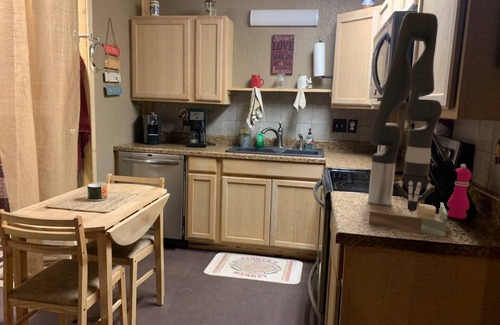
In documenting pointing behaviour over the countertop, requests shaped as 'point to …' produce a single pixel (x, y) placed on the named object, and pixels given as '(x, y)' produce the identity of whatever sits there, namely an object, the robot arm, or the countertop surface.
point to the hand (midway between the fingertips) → (411, 211)
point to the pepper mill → (459, 194)
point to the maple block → (426, 211)
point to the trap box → (410, 221)
